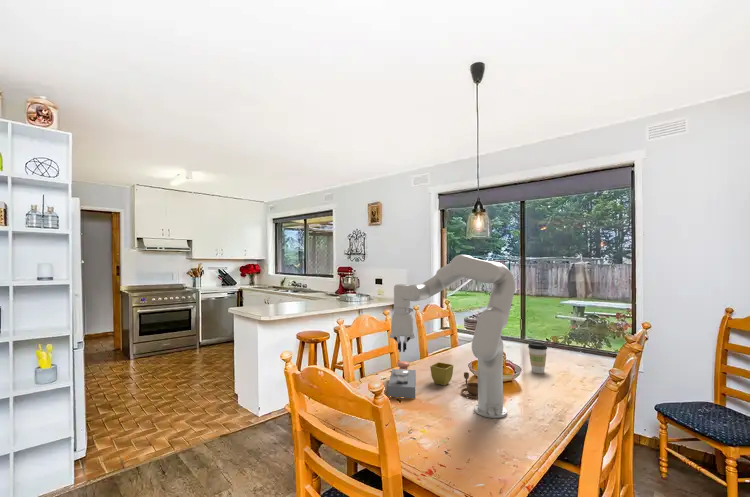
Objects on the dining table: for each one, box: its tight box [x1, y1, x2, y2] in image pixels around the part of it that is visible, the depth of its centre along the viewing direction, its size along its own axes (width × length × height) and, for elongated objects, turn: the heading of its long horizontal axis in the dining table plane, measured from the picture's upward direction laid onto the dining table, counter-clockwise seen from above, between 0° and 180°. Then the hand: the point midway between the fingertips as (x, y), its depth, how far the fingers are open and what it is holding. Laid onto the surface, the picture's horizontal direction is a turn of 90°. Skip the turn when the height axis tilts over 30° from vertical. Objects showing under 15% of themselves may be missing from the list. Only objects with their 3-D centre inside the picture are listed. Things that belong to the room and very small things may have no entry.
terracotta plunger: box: [397, 360, 410, 370], centre depth 176 cm, size 6×6×6 cm
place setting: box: [459, 372, 478, 400], centre depth 164 cm, size 18×20×6 cm
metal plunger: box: [396, 368, 409, 384], centre depth 162 cm, size 6×6×6 cm
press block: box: [387, 368, 417, 399], centre depth 169 cm, size 26×12×5 cm, turn 173°
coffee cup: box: [527, 342, 548, 374], centre depth 196 cm, size 10×10×15 cm
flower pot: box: [429, 361, 454, 386], centre depth 175 cm, size 9×9×9 cm
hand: (402, 351), depth 163 cm, fingers closed
